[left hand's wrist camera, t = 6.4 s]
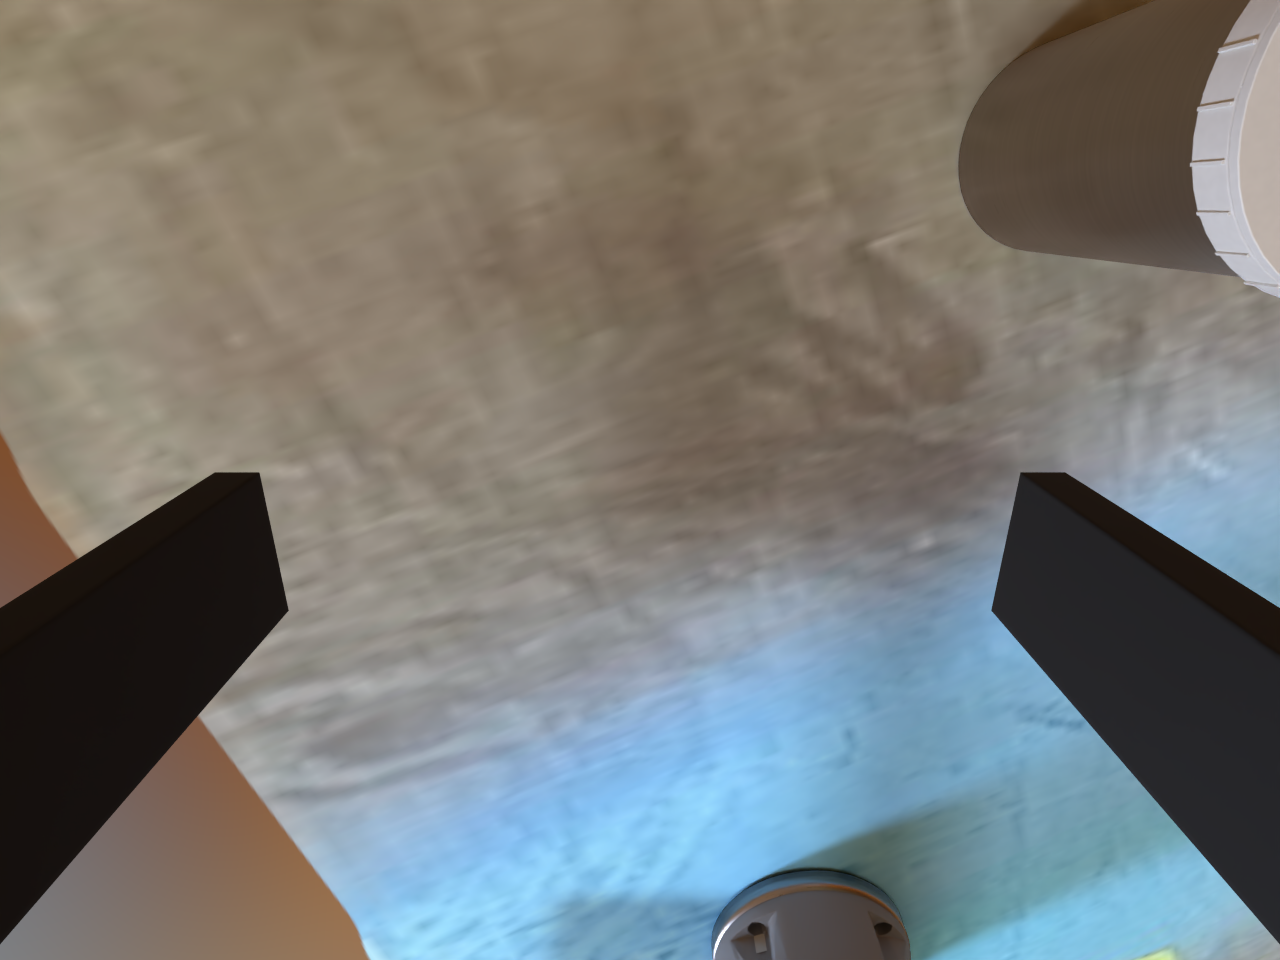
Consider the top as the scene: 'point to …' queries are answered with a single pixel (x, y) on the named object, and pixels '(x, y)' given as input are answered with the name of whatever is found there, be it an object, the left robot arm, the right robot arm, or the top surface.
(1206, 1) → the jar
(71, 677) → the left robot arm
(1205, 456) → the top surface
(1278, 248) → the lid
